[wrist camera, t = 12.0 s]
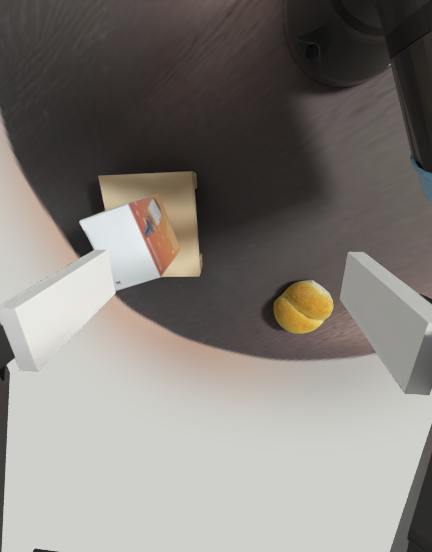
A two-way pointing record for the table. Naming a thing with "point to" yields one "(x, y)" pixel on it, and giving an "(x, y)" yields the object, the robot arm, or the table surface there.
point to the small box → (134, 240)
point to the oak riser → (177, 204)
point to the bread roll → (303, 307)
